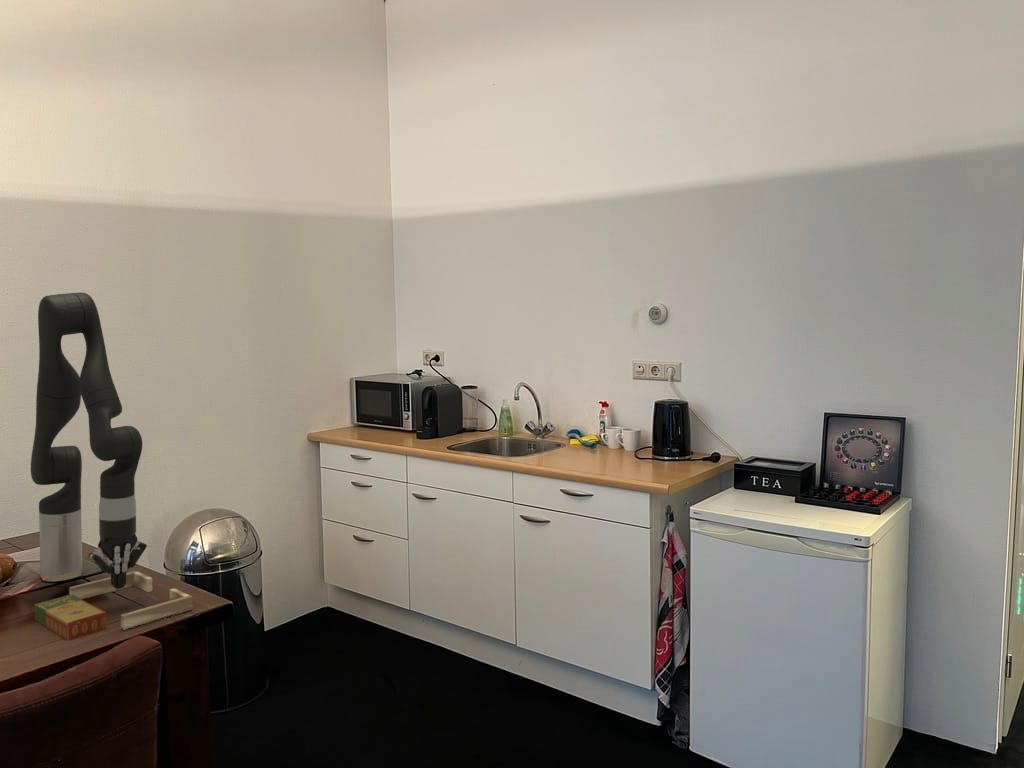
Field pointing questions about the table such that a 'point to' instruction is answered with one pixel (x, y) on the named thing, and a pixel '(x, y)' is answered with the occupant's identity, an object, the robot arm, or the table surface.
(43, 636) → the table surface
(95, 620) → the carton
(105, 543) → the robot arm
